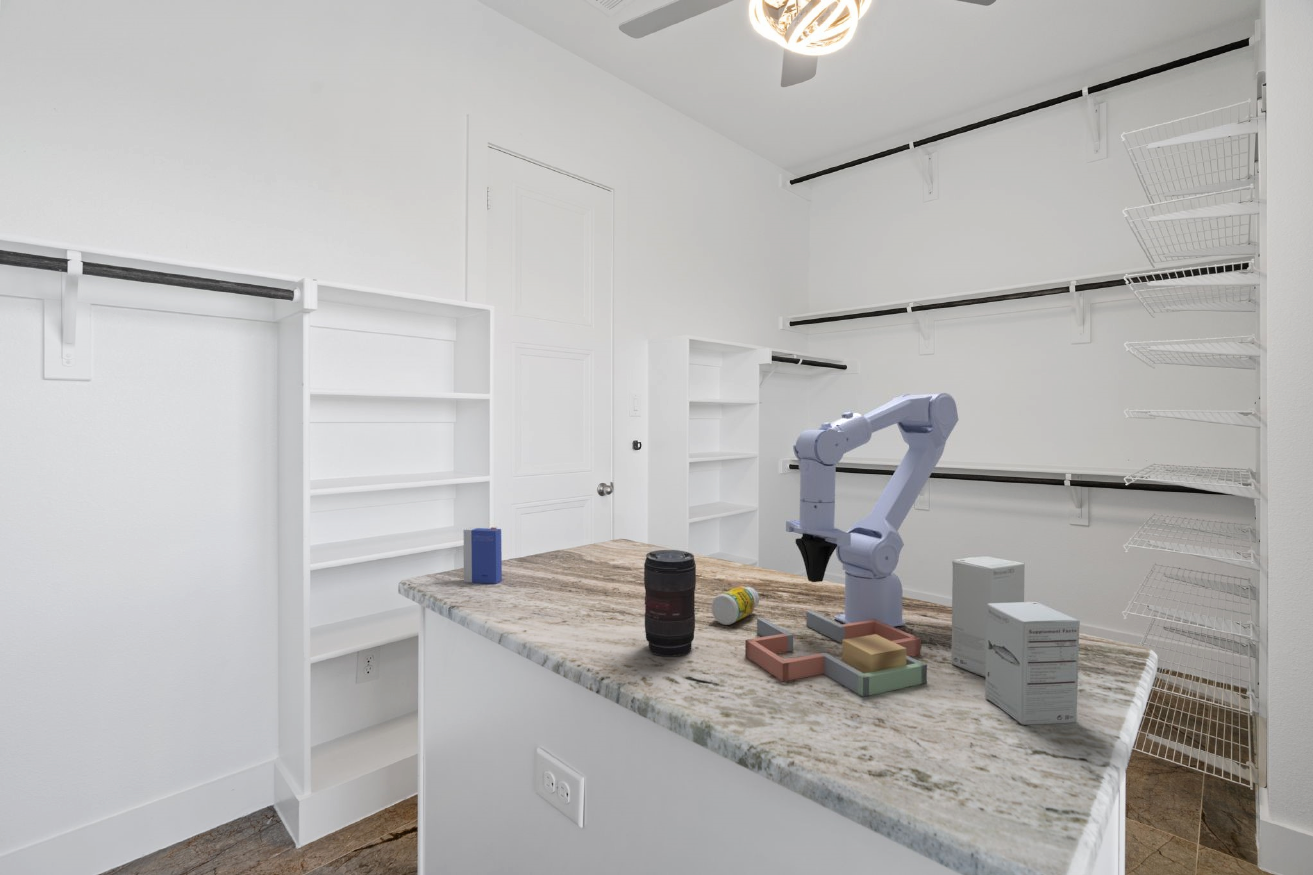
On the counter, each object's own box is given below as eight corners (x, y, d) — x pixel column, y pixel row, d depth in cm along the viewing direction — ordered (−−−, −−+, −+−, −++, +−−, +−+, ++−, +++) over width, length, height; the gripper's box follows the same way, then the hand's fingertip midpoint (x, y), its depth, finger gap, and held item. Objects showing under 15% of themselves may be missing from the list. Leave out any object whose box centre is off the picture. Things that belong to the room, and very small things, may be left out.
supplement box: (983, 698, 81) (984, 602, 81) (1036, 696, 82) (1038, 600, 82) (1020, 726, 74) (1022, 620, 74) (1079, 723, 75) (1081, 618, 74)
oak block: (875, 667, 92) (875, 634, 91) (906, 684, 86) (906, 648, 86) (841, 674, 89) (842, 639, 89) (871, 691, 84) (871, 654, 84)
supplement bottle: (716, 628, 111) (743, 615, 118) (740, 621, 108) (766, 608, 115) (706, 598, 112) (733, 587, 119) (730, 591, 109) (756, 580, 116)
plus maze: (843, 619, 113) (843, 605, 113) (964, 674, 89) (964, 657, 89) (720, 638, 103) (720, 623, 103) (818, 706, 79) (818, 686, 79)
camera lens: (648, 660, 94) (647, 561, 94) (641, 641, 102) (641, 550, 102) (700, 657, 95) (700, 559, 95) (690, 638, 103) (690, 548, 103)
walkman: (501, 580, 140) (501, 527, 139) (496, 584, 137) (495, 529, 137) (469, 578, 141) (469, 526, 141) (463, 582, 139) (462, 528, 138)
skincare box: (988, 680, 87) (990, 568, 86) (947, 663, 93) (948, 559, 92) (1025, 668, 91) (1028, 562, 90) (983, 653, 97) (985, 553, 96)
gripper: (772, 496, 111) (770, 573, 111) (826, 507, 97) (824, 594, 98) (805, 495, 113) (803, 569, 114) (861, 505, 100) (859, 589, 101)
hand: (815, 580), depth 106 cm, fingers closed
